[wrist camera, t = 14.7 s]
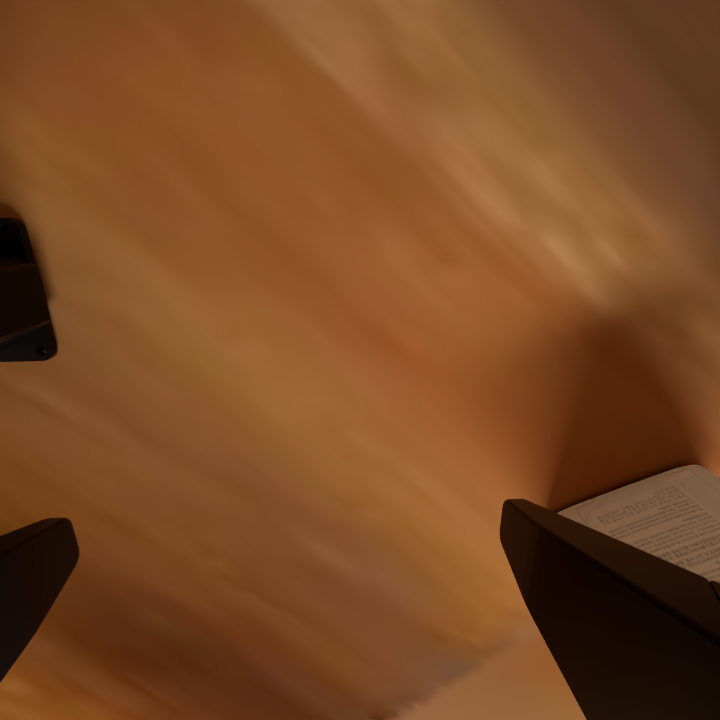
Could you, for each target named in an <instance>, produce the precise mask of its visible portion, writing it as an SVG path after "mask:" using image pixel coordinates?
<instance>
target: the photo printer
mask: <svg viewBox="0 0 720 720" xmlns="http://www.w3.org/2000/svg"><path fill="white" fill-rule="evenodd" d="M557 514H560V515H562V516H564V517H567V518H569V519H571V520H574V521H576V522H578V523H580V524H583V525H585V526H587V527H590V528H592V529H594V530H597V531H599V532H601V533H604V534H606V535H608V536H610V537H613V538H615V539H617V540H620V541H622V542H624V543H627V544H629V545H631V546H634V547H636V548H638V549H640V550H643V551H645V552H647V553H650V554H652V555H654V556H657V557H659V558H661V559H664V560H666V561H668V562H670V563H673V564H675V565H677V566H680V567H682V568H684V569H687V570H689V571H691V572H694V573H696V574H698V575H700V576H703V577H705V578H707V579H708V581H711V580H714V581H716V582H719V583H720V478H719V477H718V476H716V475H715V474H713V473H712V472H710V471H709V470H707V469H706V468H704V467H702V466H700V465H687V466H683V467H679V468H675V469H672V470H669V471H666V472H663V473H660V474H657V475H655V476H652V477H649V478H646V479H644V480H641V481H638V482H635V483H632V484H630V485H627V486H624V487H621V488H619V489H616V490H613V491H611V492H608V493H605V494H603V495H600V496H597V497H595V498H592V499H589V500H586V501H584V502H581V503H579V504H576V505H574V506H571V507H569V508H566V509H564V510H562V511H560V512H558V513H557Z"/></svg>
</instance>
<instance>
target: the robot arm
mask: <svg viewBox="0 0 720 720" xmlns="http://www.w3.org/2000/svg"><path fill="white" fill-rule="evenodd" d="M9 225H11V226H12V227H13V229H14V233H13V235H12V234H11V233H10V232H9V230H8V226H9ZM41 346H43V347H44V348H45V349H46V351H47V352H46V353H45V352H43V351H42V349H41ZM56 354H57V346H56V342H55V338H54V334H53V330H52V327H51V323H50V314H49V310H48V307H47V303H46V299H45V295H44V291H43V287H42V284H41V280H40V276H39V272H38V268H37V267H36V265H35V262H34V258H33V254H32V250H31V246H30V243H29V239H28V235H27V231H26V228H25V226H24V224H23V223H22V222H21V221H19V220H17V219H15V218H0V362H12V361H45V360H48V359H50V358H52V357H54V356H55V355H56ZM500 540H501V544H502V546H503V549H504V551H505V554H506V556H507V559H508V561H509V564H510V566H511V569H512V572H513V574H514V577H515V579H516V582H517V584H518V587H519V589H520V592H521V594H522V597H523V599H524V601H525V604H526V606H527V608H528V610H529V612H530V614H531V616H532V618H533V620H534V622H535V623H536V625H537V627H538V629H539V631H540V633H541V635H542V637H543V638H544V640H545V642H546V644H547V646H548V648H549V650H550V651H551V653H552V655H553V657H554V659H555V661H556V663H557V665H558V667H559V668H560V670H561V672H562V674H563V676H564V678H565V680H566V682H567V684H568V685H569V687H570V689H571V691H572V693H573V695H574V697H575V698H576V701H577V702H578V704H579V706H580V708H581V710H582V712H583V713H584V716H585V717H586V719H587V720H720V583H719V582H716V581H714V580H711V581H708V579H707V578H705V577H703V576H700V575H698V574H696V573H694V572H691V571H689V570H687V569H684V568H682V567H680V566H677V565H675V564H673V563H670V562H668V561H666V560H664V559H661V558H659V557H657V556H654V555H652V554H650V553H647V552H645V551H643V550H640V549H638V548H636V547H634V546H631V545H629V544H627V543H624V542H622V541H620V540H617V539H615V538H613V537H610V536H608V535H606V534H604V533H601V532H599V531H597V530H594V529H592V528H590V527H587V526H585V525H583V524H580V523H578V522H576V521H574V520H571V519H569V518H567V517H564V516H562V515H560V514H557V513H555V512H553V511H550V510H548V509H546V508H544V507H541V506H539V505H537V504H534V503H532V502H530V501H527V500H525V499H507V500H505V501H504V504H503V508H502V516H501V524H500ZM78 559H79V546H78V543H77V540H76V536H75V533H74V529H73V526H72V523H71V521H70V520H69V519H67V518H48V519H44V520H41V521H38V522H36V523H33V524H30V525H28V526H25V527H22V528H20V529H17V530H15V531H12V532H9V533H7V534H4V535H1V536H0V682H1V681H2V680H3V678H4V677H5V675H6V674H7V673H8V671H9V670H10V668H11V667H12V666H13V664H14V663H15V661H16V660H17V659H18V657H19V656H20V654H21V653H22V652H23V650H24V649H25V647H26V646H27V645H28V643H29V642H30V640H31V639H32V637H33V636H34V634H35V633H36V631H37V630H38V628H39V627H40V625H41V623H42V622H43V620H44V618H45V617H46V615H47V613H48V612H49V610H50V608H51V607H52V605H53V603H54V602H55V600H56V598H57V596H58V595H59V593H60V591H61V590H62V588H63V586H64V585H65V583H66V581H67V580H68V578H69V576H70V574H71V573H72V571H73V569H74V568H75V566H76V564H77V561H78Z"/></svg>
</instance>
